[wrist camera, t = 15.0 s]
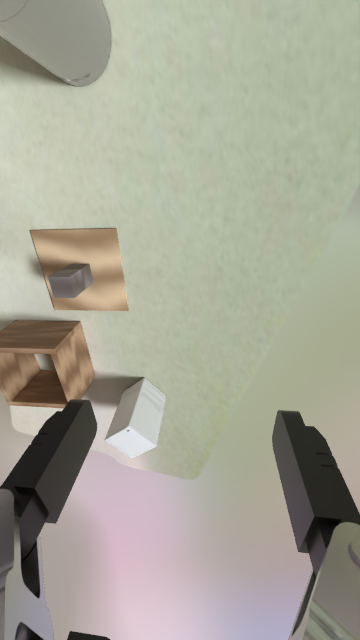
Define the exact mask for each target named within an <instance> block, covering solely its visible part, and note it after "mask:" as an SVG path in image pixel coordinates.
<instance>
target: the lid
mask: <svg viewBox="0 0 360 640" xmlns="http://www.w3.org/2000/svg"><path fill="white" fill-rule="evenodd" d="M30 232H31V235H32V238H33V241H34V244H35V248H36V251H37V254H38V257H39V260H40V264H41V267H42V270H43V273H44V276H45V280H46V283H47V286H48V289H49V292H50V296H51V299H52V302H53V305H54V308H55V310H104V311H128V310H129V307H128V301H127V294H126V288H125V281H124V275H123V268H122V262H121V255H120V249H119V242H118V235H117V229H116V228H104V229H62V230H31V231H30Z"/></svg>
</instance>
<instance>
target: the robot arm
mask: <svg viewBox="0 0 360 640" xmlns="http://www.w3.org/2000/svg"><path fill="white" fill-rule="evenodd" d="M0 36H1V37H2V38H4V39H5V40H6V41H8V42H9V43H11V44H12V45H13V46H15V47H16V48H18V49H19V50H20V51H22V52H23V53H25V54H26V55H27V56H29V57H30V58H32V59H33V60H34V61H36V62H37V63H39V64H40V65H42V66H43V67H44V68H46V69H47V70H49V71H50V72H51V73H53V74H54V75H56V76H57V77H58V78H60V79H61V80H63V81H65V82H66V83H68V84H71V85H74V86H85V85H89V84H91V83H92V82H94V81H96V80H97V79H98V78H99V76H100V75H101V74H102V73H103V71H104V69H105V67H106V65H107V62H108V59H109V56H110V49H111V30H110V23H109V19H108V15H107V12H106V9H105V7H104V5H103V2H102V0H0ZM96 431H97V422H96V419H95V415H94V412H93V409H92V406H91V403H90V401H89V400H78V399H71V400H70V401H69V402H68V403H67V405H66V406H65V408H64V409H63V411H57V412H56V413H55V414H54V415H53V416H51V417H50V418H49V419H48V420H47V421H46V422H45V423H44V425H43V426H42V428H41V429H40V431H39V432H38V435H36V436H35V438H34V439H33V441H32V443H31V445H29V447H28V448H27V450H26V451H25V452H24V454H23V455H22V457H21V458H20V460H19V461H18V463H17V464H16V465H15V467H14V468H13V470H12V471H11V473H10V474H9V476H8V477H7V479H6V480H5V481H4V483H3V484H2V485H1V487H0V640H54V632H53V625H52V619H51V615H50V612H49V609H48V606H47V602H46V596H45V584H44V572H43V560H42V548H41V536H40V531H41V529H42V527H43V525H44V523H45V522H46V523H56V522H57V520H58V518H59V515H60V513H61V511H62V509H63V507H64V505H65V502H66V500H67V498H68V496H69V493H70V491H71V489H72V487H73V485H74V482H75V480H76V478H77V476H78V474H79V471H80V469H81V467H82V464H83V462H84V460H85V458H86V456H87V454H88V451H89V449H90V447H91V445H92V443H93V440H94V438H95V435H96ZM272 442H273V450H274V454H275V458H276V462H277V467H278V471H279V474H280V479H281V483H282V487H283V491H284V495H285V499H286V504H287V508H288V512H289V516H290V520H291V524H292V528H293V532H294V536H295V540H296V545H297V549H298V552H303V553H309V555H310V559H311V562H312V566H313V569H312V572H311V575H310V578H309V580H308V583H307V586H306V589H305V592H304V595H303V598H302V601H301V604H300V607H299V610H298V613H297V616H296V619H295V622H294V625H293V627H292V630H291V633H290V636H289V639H288V640H360V514H359V512H358V509H357V507H356V505H355V503H354V501H353V498H352V496H351V494H350V492H349V490H348V488H347V485H346V483H345V481H344V479H343V477H342V474H341V473H340V470H339V469H338V467H337V463H336V461H335V459H334V457H333V456H332V453H331V451H330V448H329V446H328V444H327V442H326V439H325V438H324V437H323V436H322V435H321V434H320V433H319V431H318V430H317V429H316V428H315V427H311V426H305V424H304V422H303V419H302V417H301V415H300V413H299V412H298V411H282V410H279V411H278V412H277V416H276V421H275V425H274V431H273V436H272ZM67 640H110V639H108V638H107V637H103V636H97V635H91V634H84V633H79V632H72V631H70V633H69V636H68V639H67Z"/></svg>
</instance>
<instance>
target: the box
mask: <svg viewBox="0 0 360 640" xmlns="http://www.w3.org/2000/svg"><path fill="white" fill-rule="evenodd" d="M34 354H50V355H51V358H52V360H53V363H54V366H55V368H56V371H55V370H40V368H39V366H38V363H37V361H36V358H35V356H34ZM94 376H95V373H94V370H93V366H92V362H91V359H90V355H89V351H88V348H87V344H86V340H85V337H84V333H83V329H82V326H81V322H80V321H14V322H13V323H11V324H10V325H9V326H7V327H6V328H4V329H3V330H2V331H0V390H1V392H2V394H3V395H4V397H5V399H6V401H7V403H8V405H15V406H34V407H52V408H65V406H66V405H67V403H68V402H69V401H70V400H71V399H78V400H81V398H82V396H83V395H84V393H85V391H86V390H87V388H88V386H89V385H90V383H91V381H92V380H93V378H94Z"/></svg>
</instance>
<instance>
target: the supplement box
mask: <svg viewBox="0 0 360 640" xmlns="http://www.w3.org/2000/svg"><path fill="white" fill-rule="evenodd" d="M165 399H166V396H165V395H164V394H163V393H162V392H161V391H160V390H158V389H157V388H156V387H155V386H154V385H153V384H151V383H150V382H149V381H148V380H147V379H146V378H143V379H142V380H140V381H138V382H137V383H135V384H134V385H132V386H131V387H129V388H128V389H126V390H125V391H124V392H123V395H122V397H121V400H120V402H119V405H118V407H117V410H116V412H115V415H114V417H113V420H112V422H111V425H110V428H109V430H108V433H107V435H106V438H105V441H106V442H108V443H109V444H111V445H112V446H114V447H115V448H116V449H118V450H119V451H121V452H122V453H124V454H125V455H126V456H128V457H129V458H131V459H132V458H134V457H136V456H138V455H140V454H142V453H144V452H146V451H148V450H151V449H153V448H155V447H157V441H158V436H159V430H160V425H161V420H162V415H163V409H164V404H165Z"/></svg>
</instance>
